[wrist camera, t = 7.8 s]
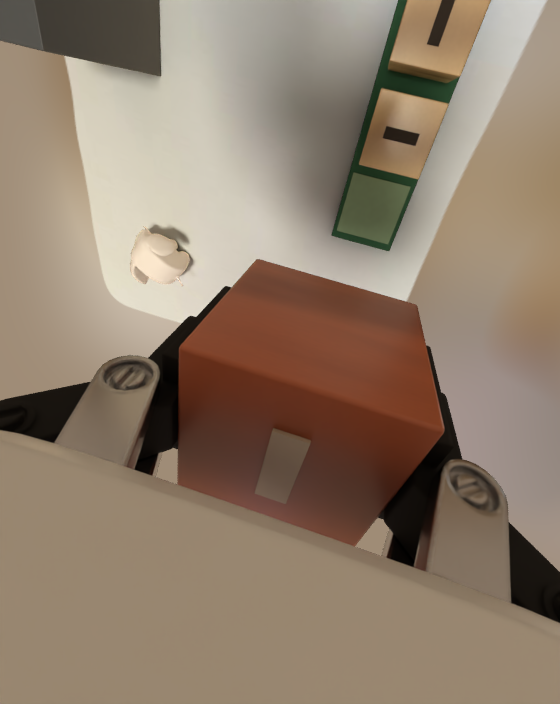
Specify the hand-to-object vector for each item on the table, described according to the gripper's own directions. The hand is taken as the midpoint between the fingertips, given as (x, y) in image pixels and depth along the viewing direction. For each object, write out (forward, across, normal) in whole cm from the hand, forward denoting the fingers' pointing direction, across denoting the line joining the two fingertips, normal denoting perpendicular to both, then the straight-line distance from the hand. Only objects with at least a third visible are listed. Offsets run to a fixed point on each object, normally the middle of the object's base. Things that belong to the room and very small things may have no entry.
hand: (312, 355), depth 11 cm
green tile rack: (+29, -2, -6) cm, 29 cm away
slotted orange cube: (+1, 0, 0) cm, 1 cm away
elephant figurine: (+29, +20, +11) cm, 37 cm away
